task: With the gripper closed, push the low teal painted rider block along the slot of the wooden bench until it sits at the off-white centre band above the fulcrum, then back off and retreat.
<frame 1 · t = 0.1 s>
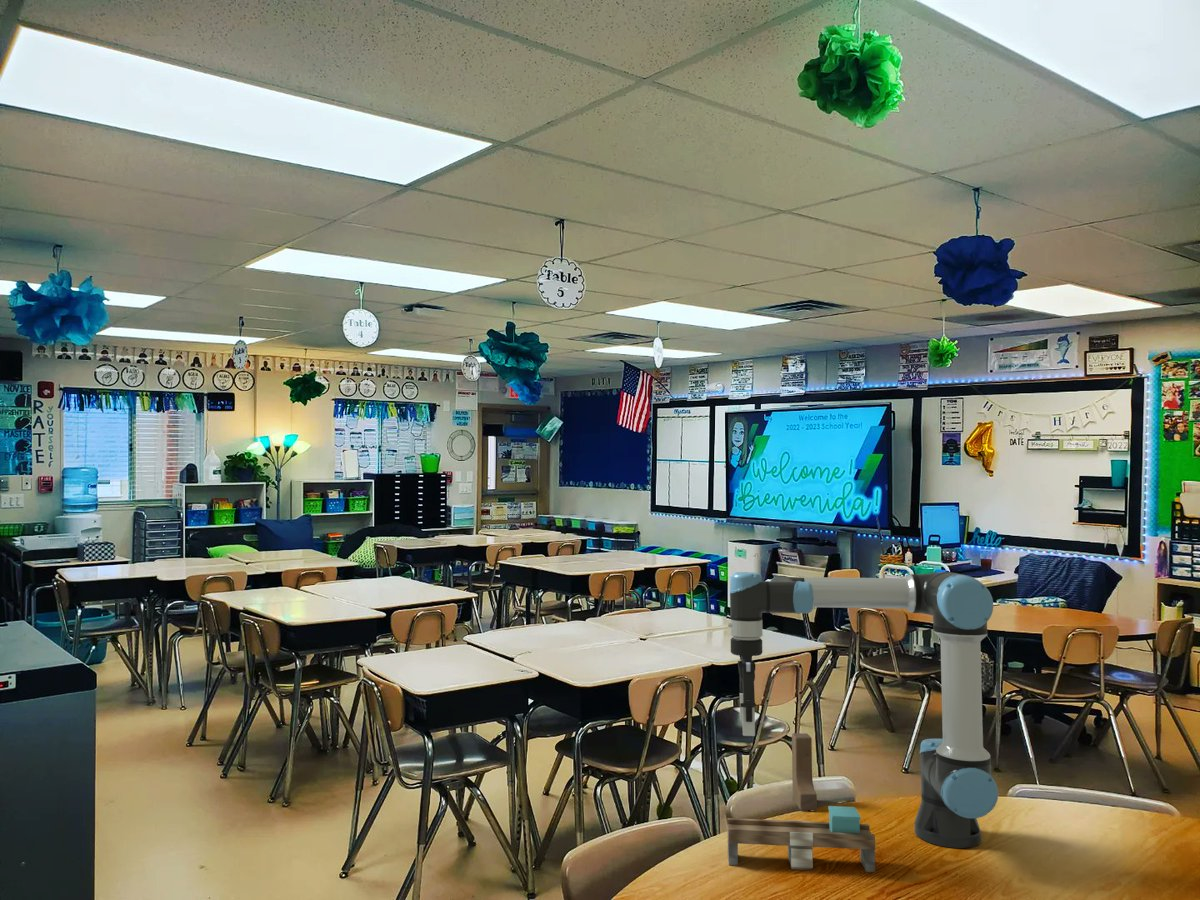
hand: (747, 728, 201), 28 cm above the table, fingers open, 13 cm apart
wooden block: (804, 806, 229), on the table
wooden bench: (799, 862, 192), on the table
rider: (844, 821, 191), point 9 cm above the table, slide at -10.0 cm
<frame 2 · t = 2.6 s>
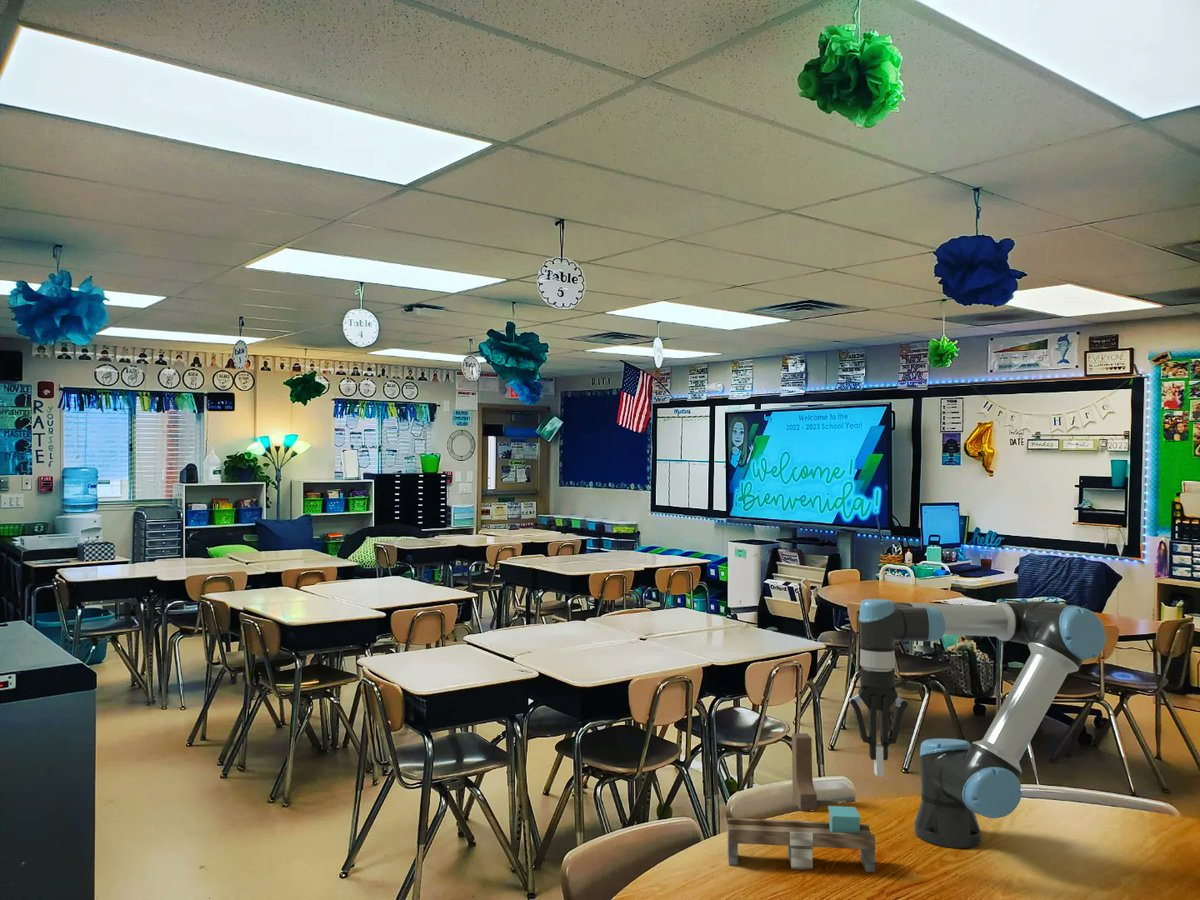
hand: (878, 774, 191), 20 cm above the table, fingers closed
nothing on the table moved.
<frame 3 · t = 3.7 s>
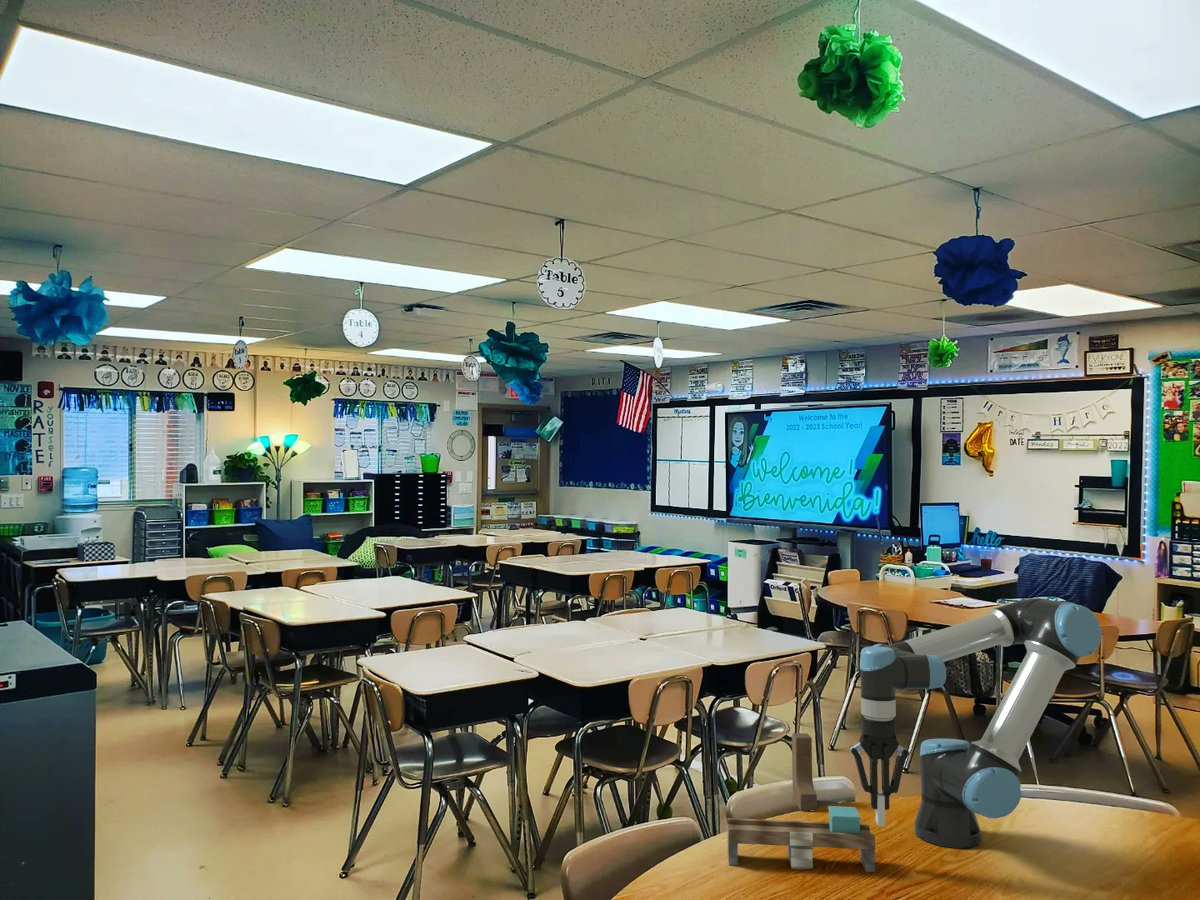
hand: (880, 823, 190), 9 cm above the table, fingers closed
nothing on the table moved.
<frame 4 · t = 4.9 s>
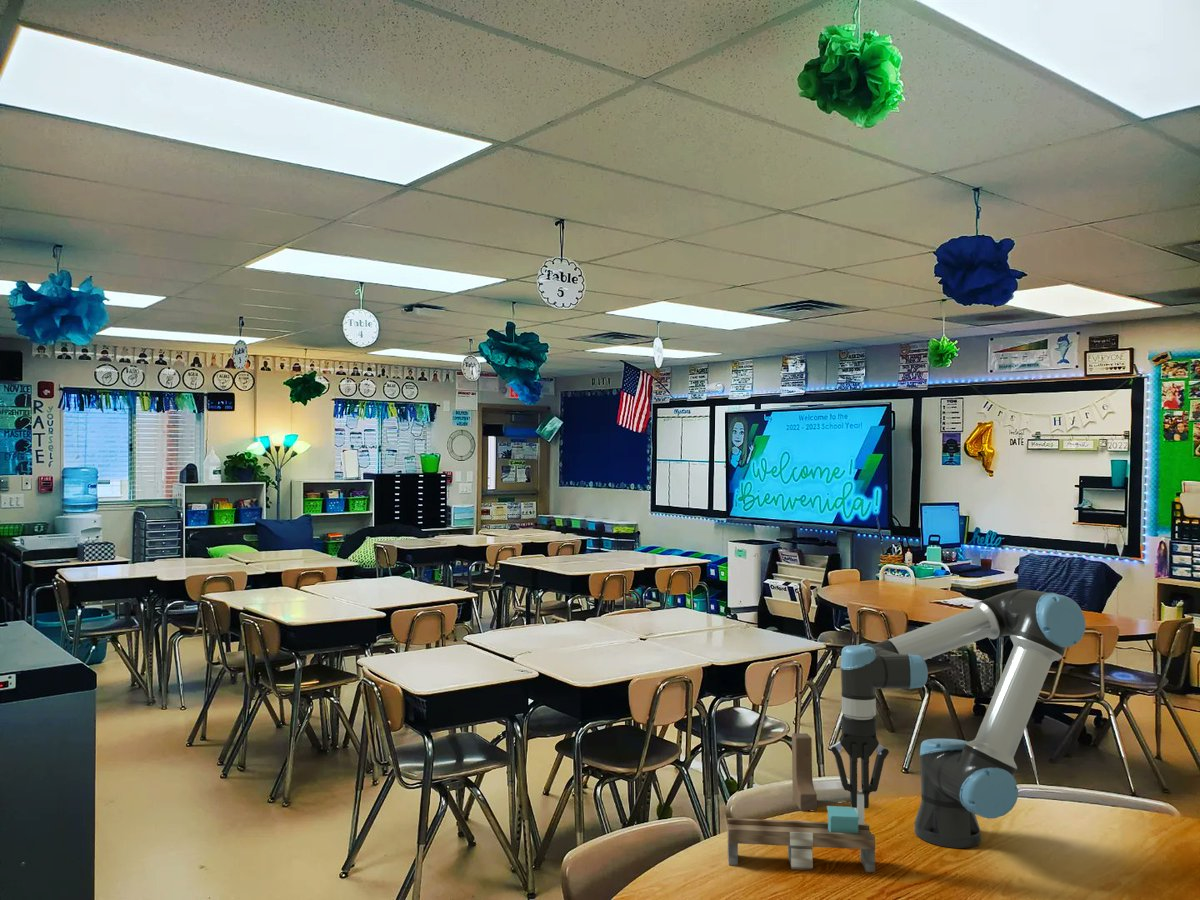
hand: (859, 822, 191), 10 cm above the table, fingers closed
rider: (842, 821, 191), point 9 cm above the table, slide at -9.7 cm, touching gripper
everything else where it was.
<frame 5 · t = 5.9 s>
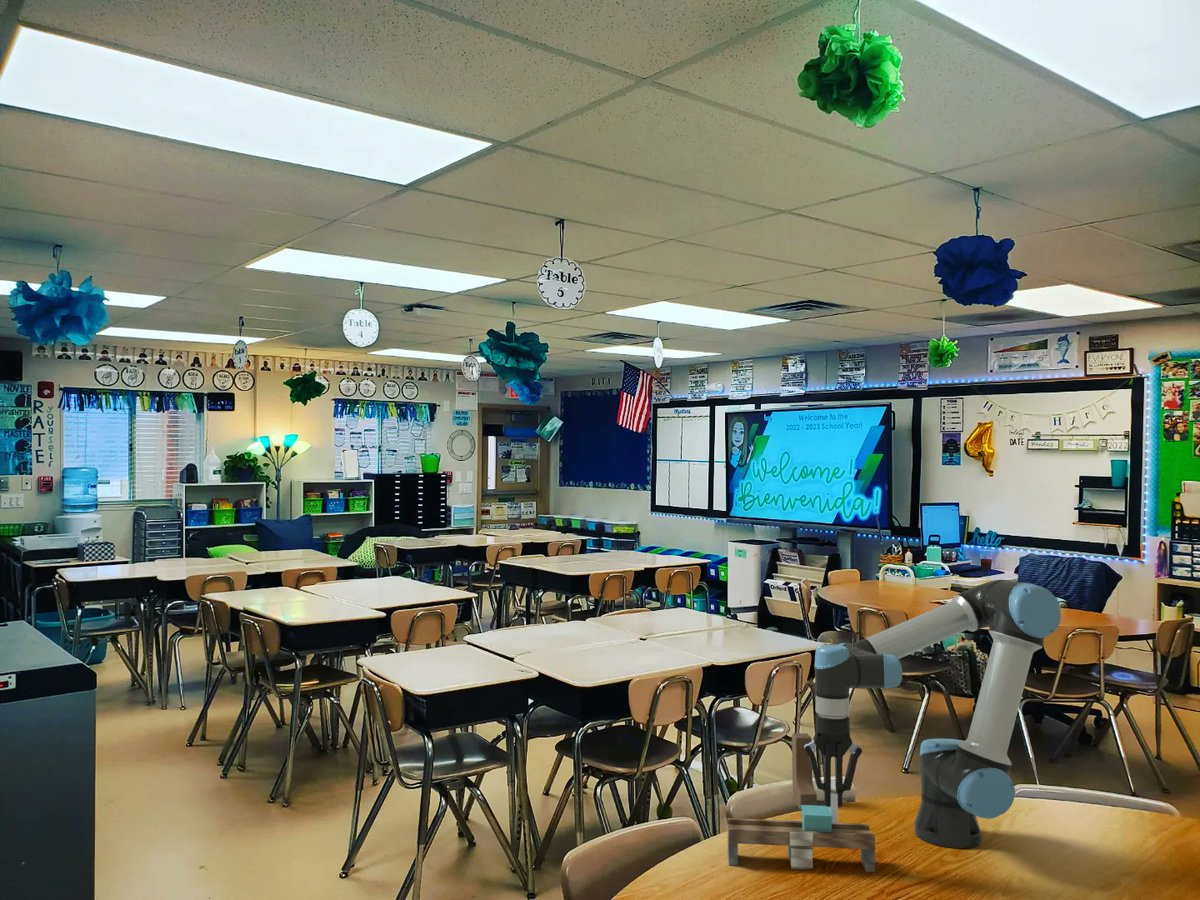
hand: (833, 821, 191), 10 cm above the table, fingers closed
rider: (816, 820, 192), point 9 cm above the table, slide at -3.9 cm, touching gripper
everything else where it was.
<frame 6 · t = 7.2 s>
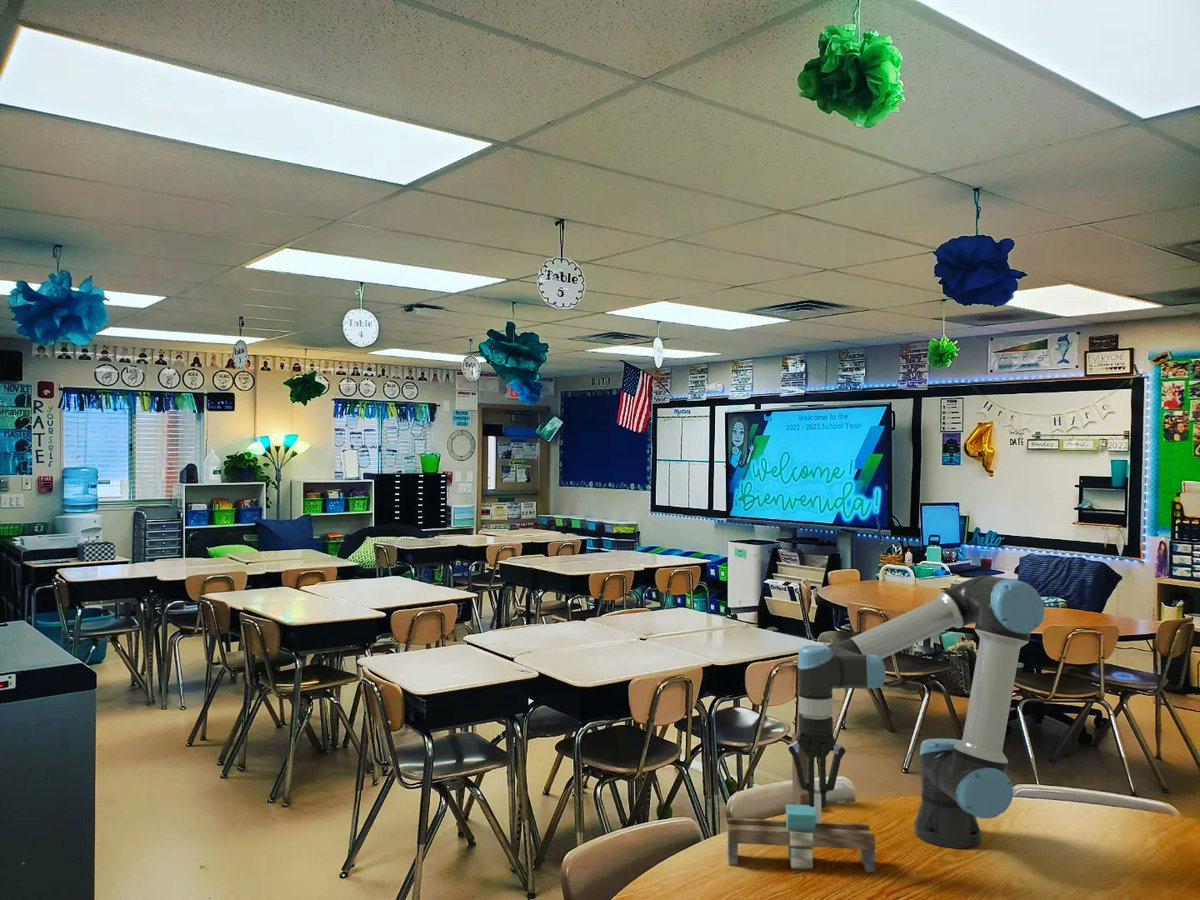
hand: (817, 821, 192), 9 cm above the table, fingers closed
rider: (800, 820, 192), point 9 cm above the table, slide at -0.3 cm, touching gripper
everything else where it was.
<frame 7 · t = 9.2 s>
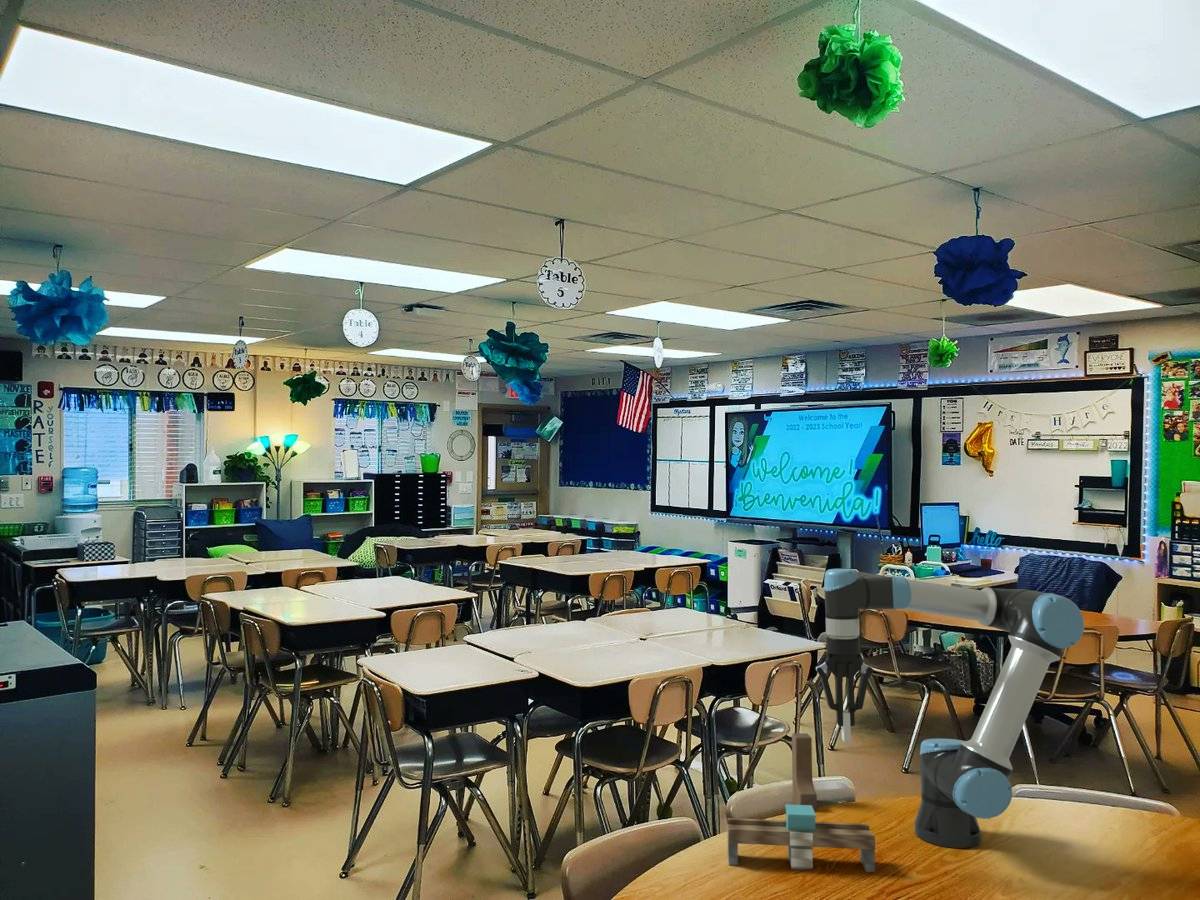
hand: (846, 740, 194), 27 cm above the table, fingers closed
rider: (800, 820, 192), point 9 cm above the table, slide at -0.3 cm
everything else where it was.
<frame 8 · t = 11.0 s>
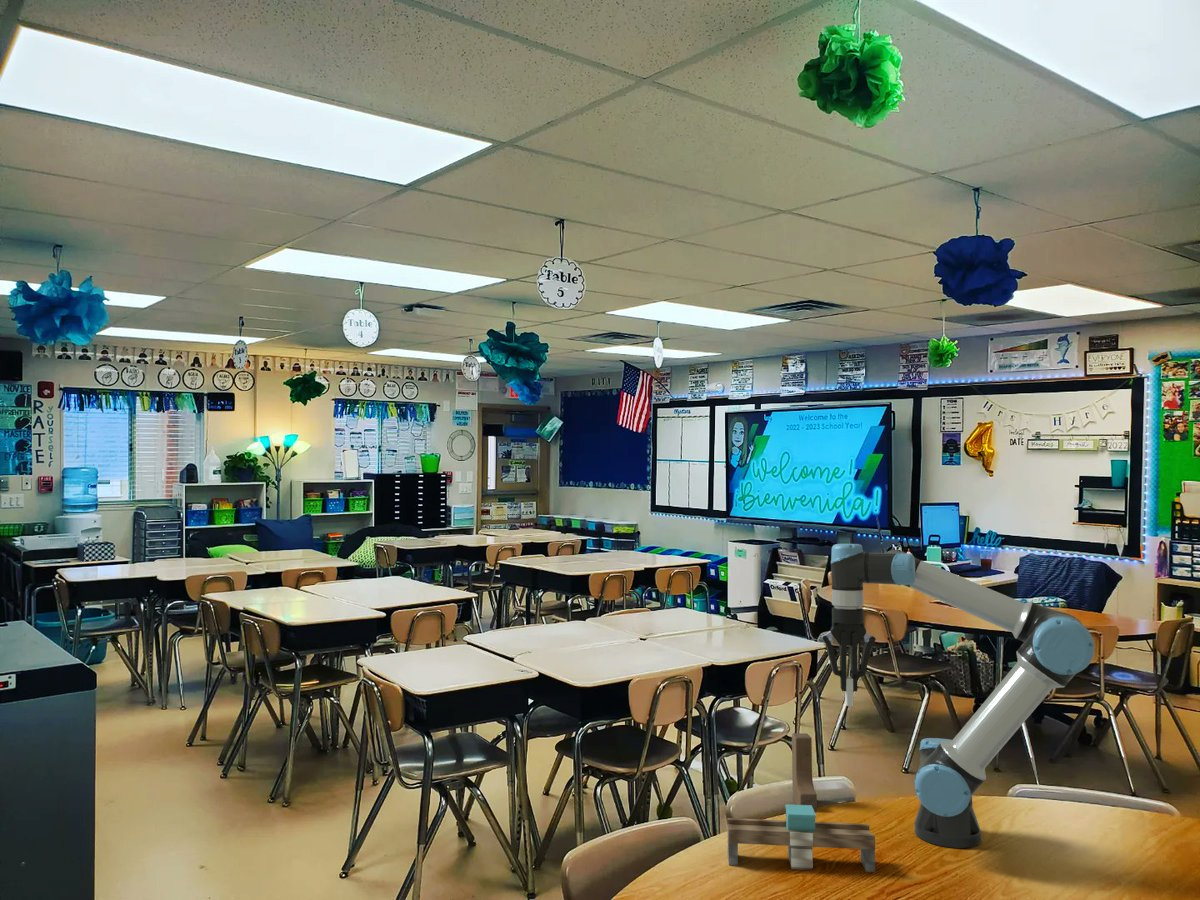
hand: (849, 704, 206), 32 cm above the table, fingers closed
nothing on the table moved.
at the end: rider slide at -0.3 cm; rider touching nothing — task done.
